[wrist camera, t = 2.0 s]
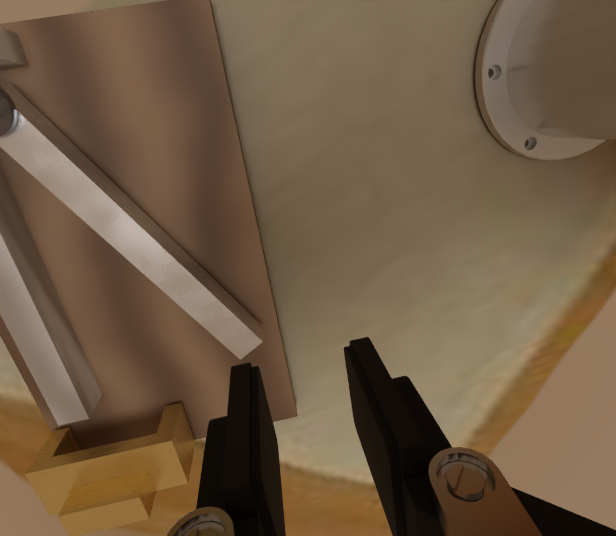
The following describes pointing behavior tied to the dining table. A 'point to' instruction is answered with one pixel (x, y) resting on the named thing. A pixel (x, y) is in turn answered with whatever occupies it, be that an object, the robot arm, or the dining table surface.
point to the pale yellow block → (111, 474)
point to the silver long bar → (121, 221)
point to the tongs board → (153, 201)
